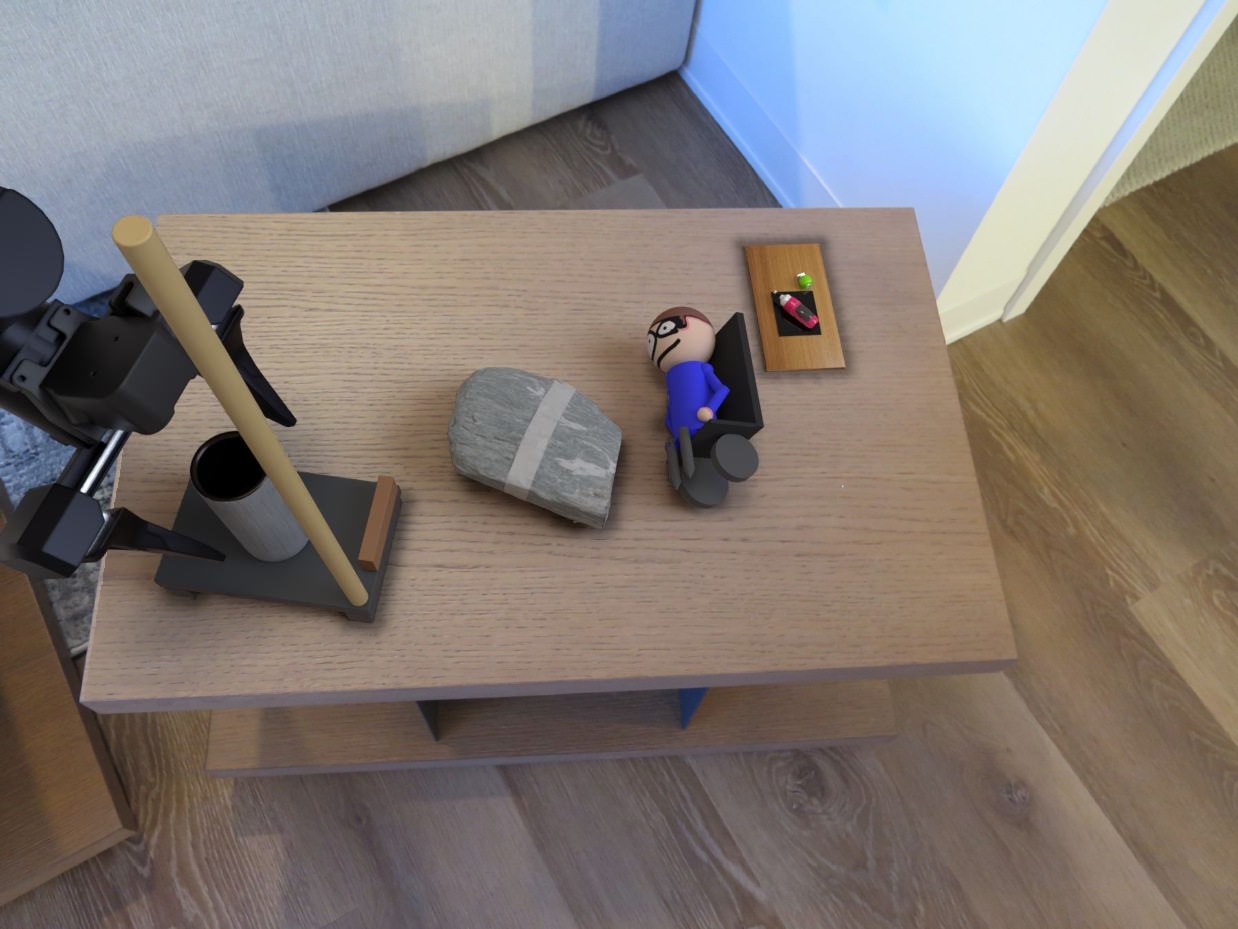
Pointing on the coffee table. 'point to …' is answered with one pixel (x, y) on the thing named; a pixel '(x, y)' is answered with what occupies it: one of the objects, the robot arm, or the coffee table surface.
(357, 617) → the stand with wooden pole
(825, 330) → the board
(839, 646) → the coffee table surface
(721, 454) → the character figurine
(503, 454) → the decorative stone
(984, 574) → the coffee table surface
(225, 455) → the planter
